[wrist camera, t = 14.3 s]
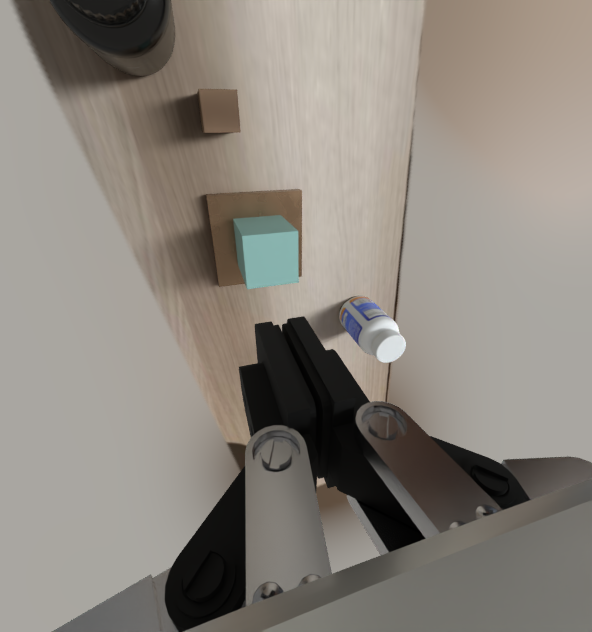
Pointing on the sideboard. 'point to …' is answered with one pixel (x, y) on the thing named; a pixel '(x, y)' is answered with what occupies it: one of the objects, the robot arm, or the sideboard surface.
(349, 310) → the pill bottle
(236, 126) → the tan cardboard cube
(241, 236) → the teal rectangular block
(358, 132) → the sideboard surface
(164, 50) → the supplement bottle
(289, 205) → the brown square base
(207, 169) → the sideboard surface
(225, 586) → the robot arm
